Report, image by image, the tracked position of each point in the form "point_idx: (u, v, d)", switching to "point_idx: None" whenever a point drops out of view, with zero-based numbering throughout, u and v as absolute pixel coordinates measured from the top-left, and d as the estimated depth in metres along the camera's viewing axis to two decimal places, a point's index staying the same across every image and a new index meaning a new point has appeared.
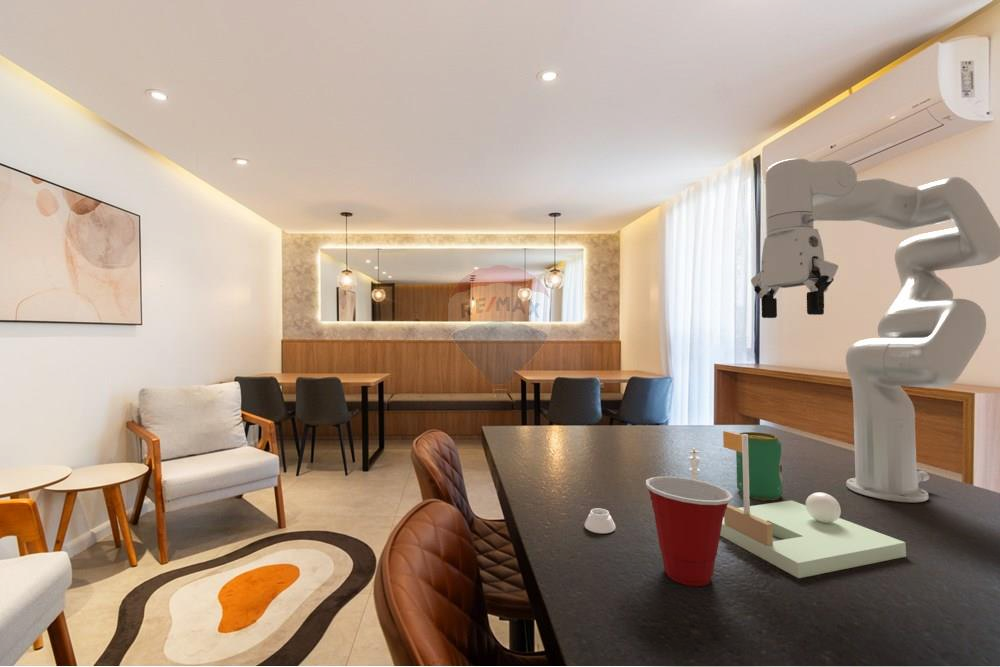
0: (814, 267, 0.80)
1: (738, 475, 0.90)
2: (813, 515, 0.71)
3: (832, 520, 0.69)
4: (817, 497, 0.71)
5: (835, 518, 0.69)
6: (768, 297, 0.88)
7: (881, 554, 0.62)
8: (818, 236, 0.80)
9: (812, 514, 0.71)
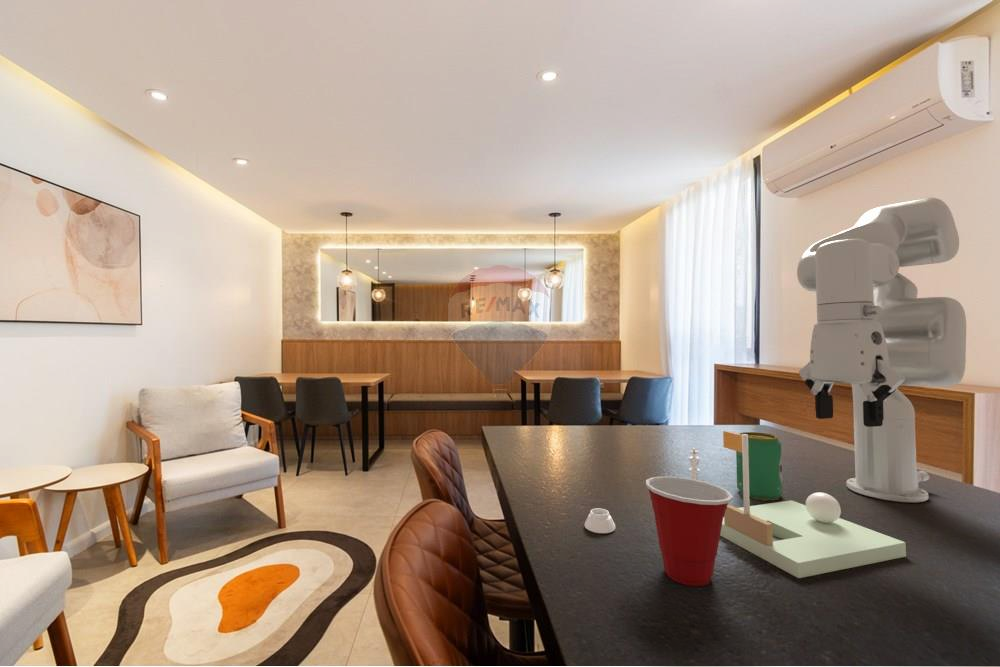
0: None
1: (738, 475, 0.90)
2: (813, 515, 0.71)
3: (832, 520, 0.69)
4: (817, 497, 0.71)
5: (835, 518, 0.69)
6: (824, 395, 0.77)
7: (881, 554, 0.62)
8: (881, 331, 0.69)
9: (812, 514, 0.71)
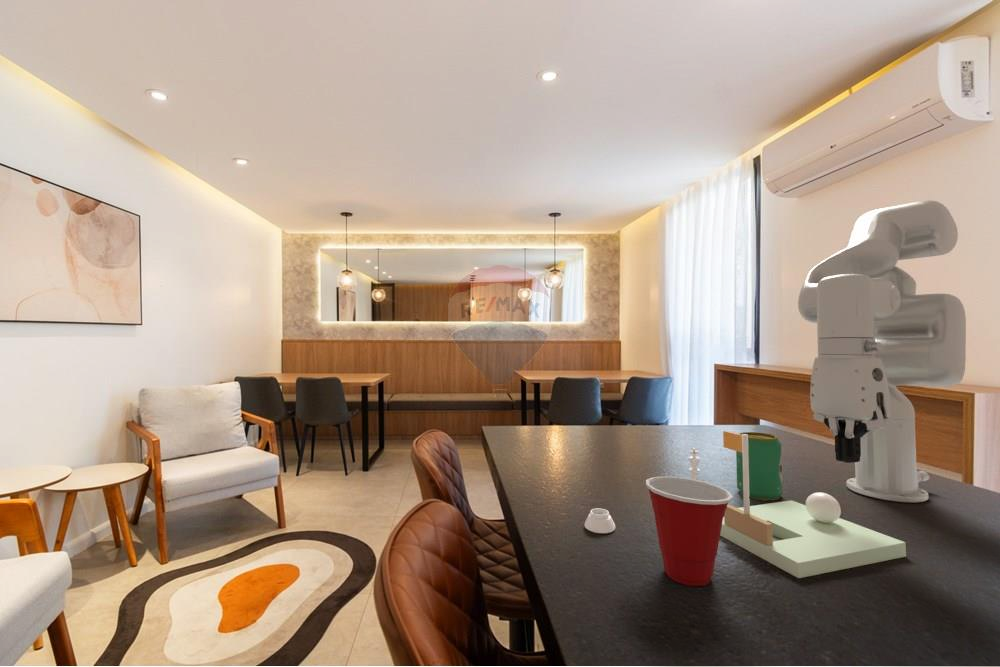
0: None
1: (738, 475, 0.90)
2: (813, 515, 0.71)
3: (832, 520, 0.69)
4: (817, 497, 0.71)
5: (835, 518, 0.69)
6: (844, 436, 0.73)
7: (881, 554, 0.62)
8: (882, 367, 0.69)
9: (812, 514, 0.71)
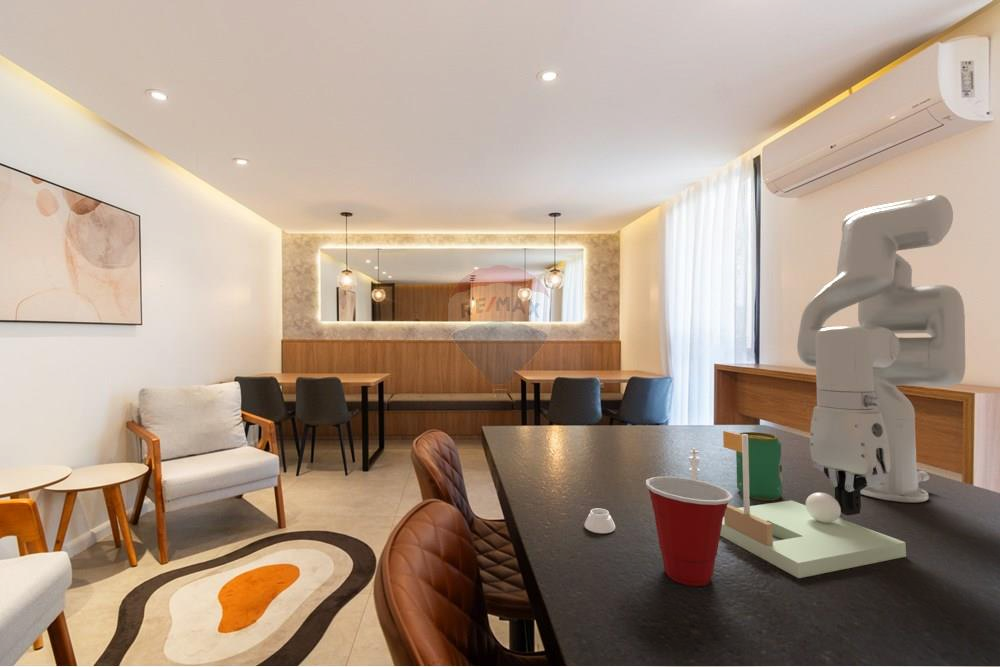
0: None
1: (738, 475, 0.90)
2: (813, 515, 0.71)
3: (832, 520, 0.69)
4: (817, 497, 0.71)
5: (835, 518, 0.69)
6: (844, 488, 0.73)
7: (881, 554, 0.62)
8: (882, 422, 0.69)
9: (812, 514, 0.71)
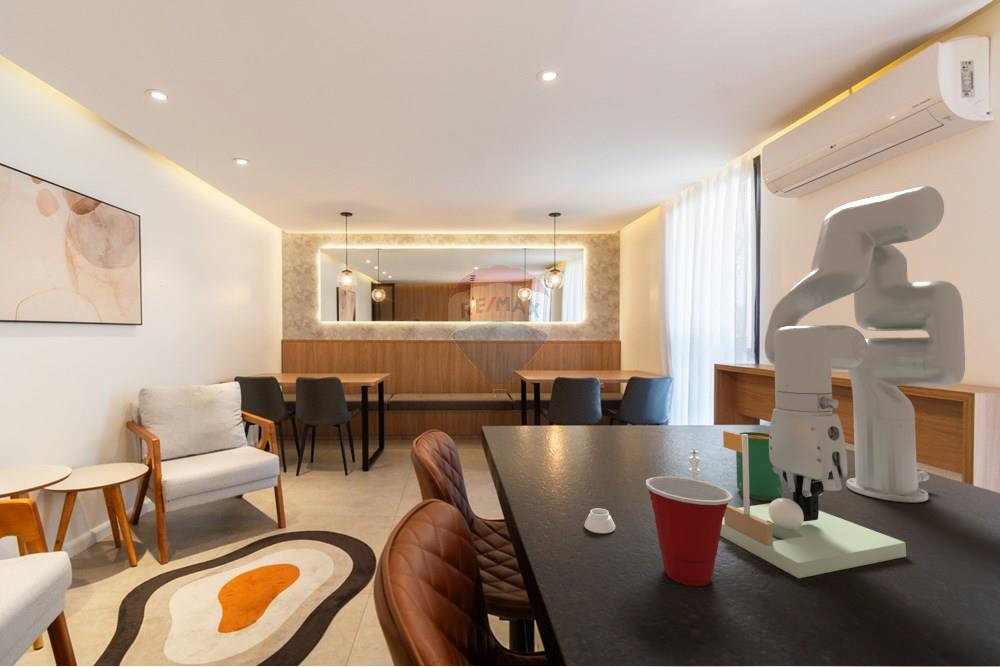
0: None
1: (738, 475, 0.90)
2: None
3: (796, 508, 0.67)
4: None
5: (797, 511, 0.67)
6: (802, 493, 0.70)
7: (881, 554, 0.62)
8: (839, 425, 0.66)
9: None
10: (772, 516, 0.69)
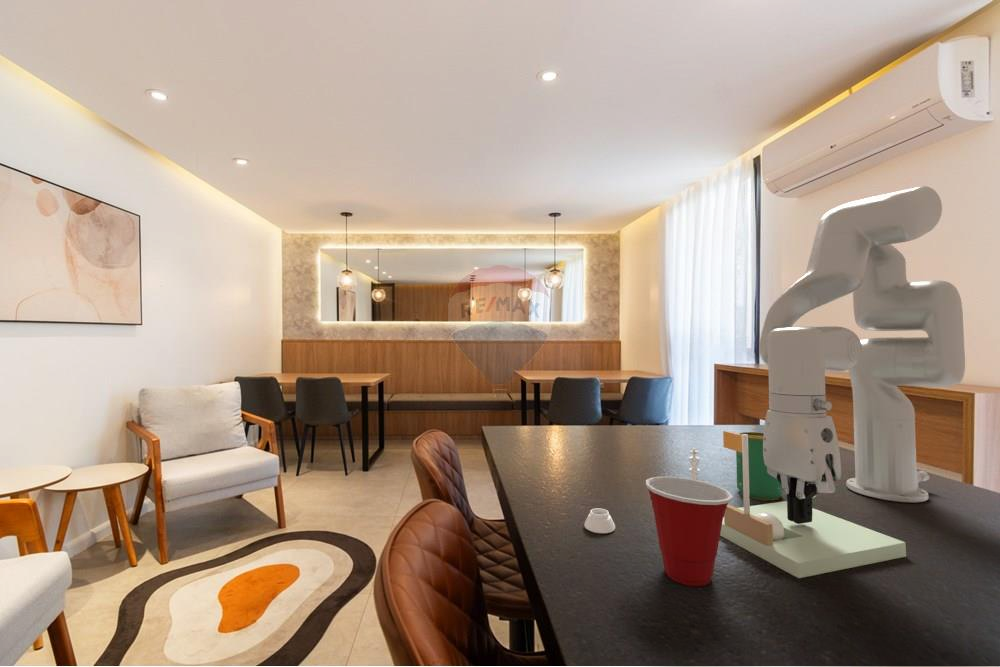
0: None
1: (738, 475, 0.90)
2: None
3: None
4: (770, 514, 0.68)
5: (773, 538, 0.65)
6: (796, 495, 0.70)
7: (881, 554, 0.62)
8: (832, 427, 0.66)
9: None
10: None
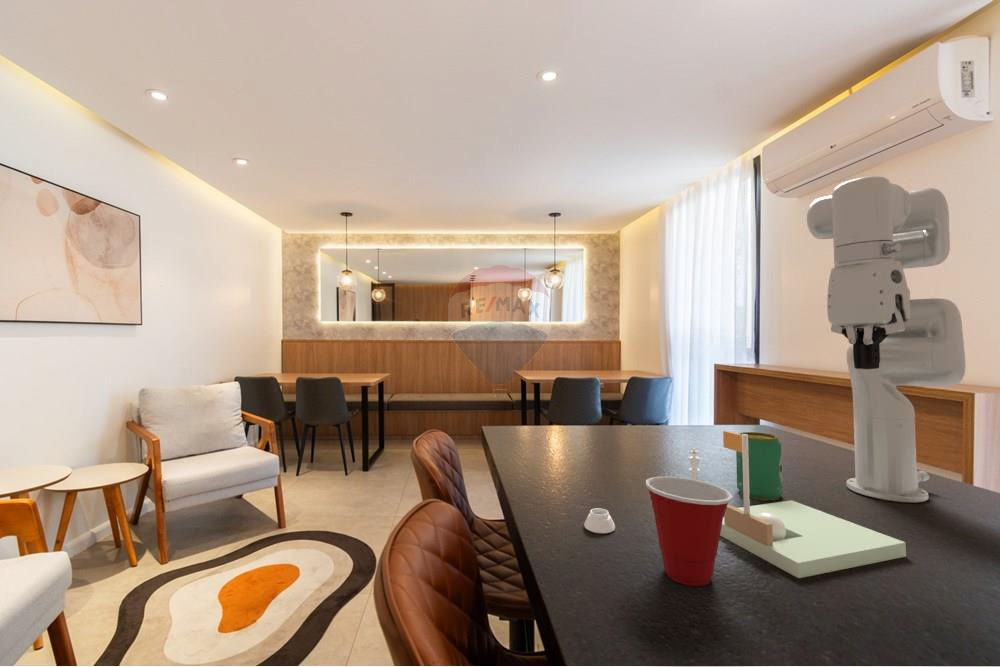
0: None
1: (738, 475, 0.90)
2: None
3: None
4: (773, 514, 0.68)
5: (775, 537, 0.65)
6: (862, 344, 0.72)
7: (881, 554, 0.62)
8: (901, 269, 0.68)
9: None
10: None
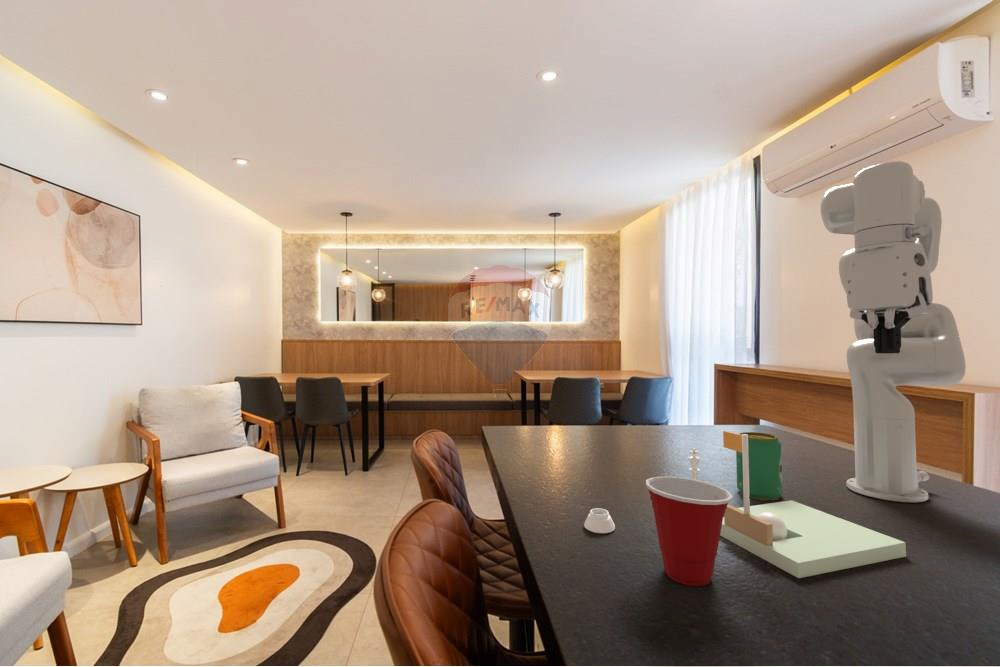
0: None
1: (738, 475, 0.90)
2: None
3: None
4: None
5: (776, 536, 0.65)
6: (883, 328, 0.72)
7: (881, 554, 0.62)
8: (924, 253, 0.68)
9: None
10: None
